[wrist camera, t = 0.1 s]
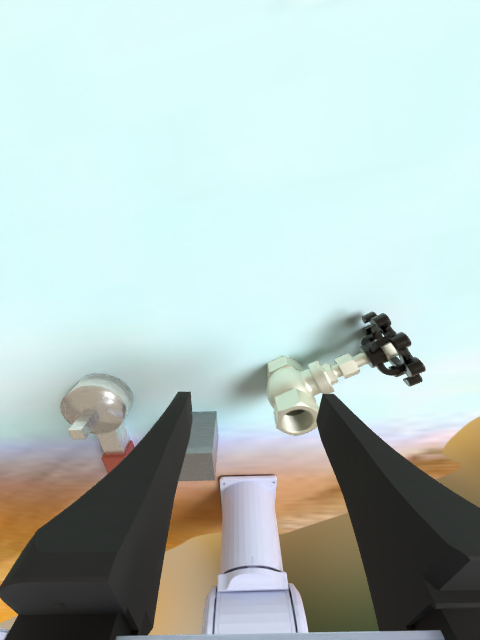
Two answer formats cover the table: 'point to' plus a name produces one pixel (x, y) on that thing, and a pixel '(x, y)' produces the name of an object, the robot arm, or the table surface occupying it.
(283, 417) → the valve
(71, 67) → the table surface
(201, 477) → the brushed metal block
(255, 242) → the table surface
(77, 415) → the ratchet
